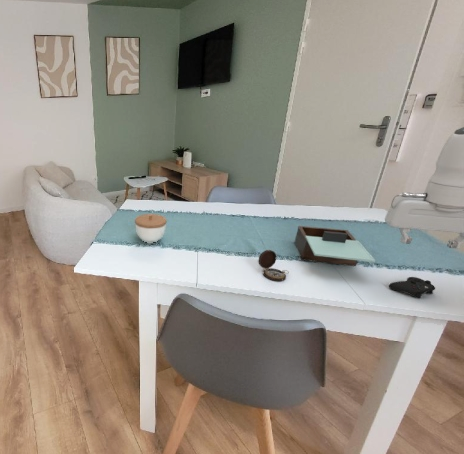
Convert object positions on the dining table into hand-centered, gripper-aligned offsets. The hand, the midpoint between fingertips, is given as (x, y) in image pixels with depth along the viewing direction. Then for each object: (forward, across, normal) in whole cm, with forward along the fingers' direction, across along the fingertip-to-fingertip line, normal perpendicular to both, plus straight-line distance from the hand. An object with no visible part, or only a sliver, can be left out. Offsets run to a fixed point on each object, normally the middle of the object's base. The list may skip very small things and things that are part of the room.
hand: (428, 245), depth 77 cm
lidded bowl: (+15, -77, +12) cm, 80 cm away
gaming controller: (+14, +1, 0) cm, 14 cm away
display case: (+14, -16, +18) cm, 28 cm away
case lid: (+7, -16, +7) cm, 19 cm away
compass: (+15, -33, -2) cm, 37 cm away
